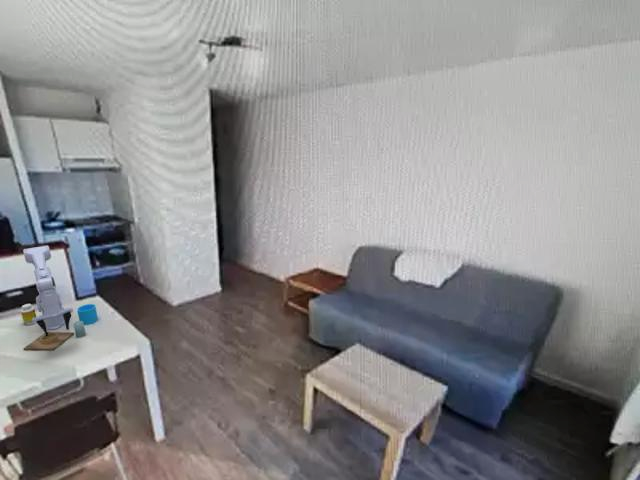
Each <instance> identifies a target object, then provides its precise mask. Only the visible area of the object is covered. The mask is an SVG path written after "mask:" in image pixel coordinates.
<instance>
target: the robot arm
mask: <svg viewBox="0 0 640 480" xmlns="http://www.w3.org/2000/svg"><path fill="white" fill-rule="evenodd" d="M22 251H23V252H22V253H23V255H24V259H25V262H26V264H32V265H33V266H34V268H35V269H34V271H33V272H34V273H33V274H34V277H35V285H36V289H37V291H38V294H39V295H37V296H36V297H35V301H36V302H35V303H36V306H37V311H38V312H39V313H41V314H42V315H39V316H36V317H35V318H32V320H33V323H34V324H37V325H38V326H39V327H40V328H41V329H42V331H43V332H44V333H45V335H46V336H48V332H49V331H48V330H57V329H58V328H60V327H61V326H63V325H64V324H65V325H64V326H65V329H66V330H67V331H69V330H70V321H71V318H72V313H74V308H73V307H69V308H65V307H64V306H63V303H62V300H61V297H60V293H58V291H57V290H56V289H57V285H56V281H55V278H54V276H53V275H52V271H51V269H50V267H49V266H47V264H46V263H47V261H50V260H51V258H52V253H51V250H50V246H49V245H48V244H47V245H43V246H37V247H30V248H24V249H23V250H22Z"/></svg>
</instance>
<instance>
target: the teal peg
mask: <svg viewBox="0 0 640 480" xmlns="http://www.w3.org/2000/svg"><path fill="white" fill-rule="evenodd" d="M73 329H74V335H75V337H76V339H77V338H78V339H80V338H83V337H85V336H86V330H85V325H84V324H83V321H78V320H77V321H75V322H73Z"/></svg>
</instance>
